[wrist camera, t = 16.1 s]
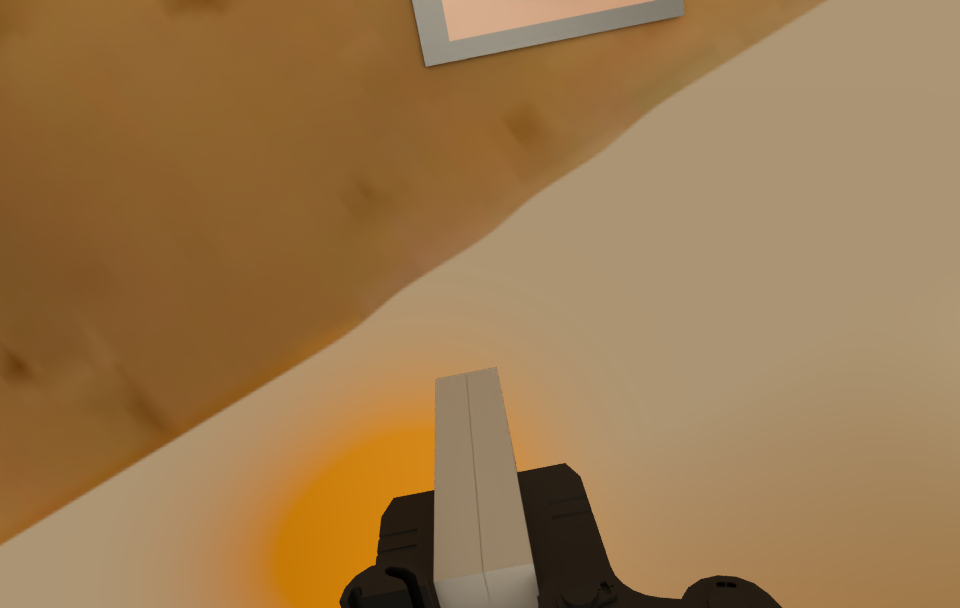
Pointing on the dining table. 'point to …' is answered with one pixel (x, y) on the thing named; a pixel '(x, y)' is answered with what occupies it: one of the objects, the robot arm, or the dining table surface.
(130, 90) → the dining table surface
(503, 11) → the base plate
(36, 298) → the dining table surface
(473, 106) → the dining table surface
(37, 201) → the dining table surface
